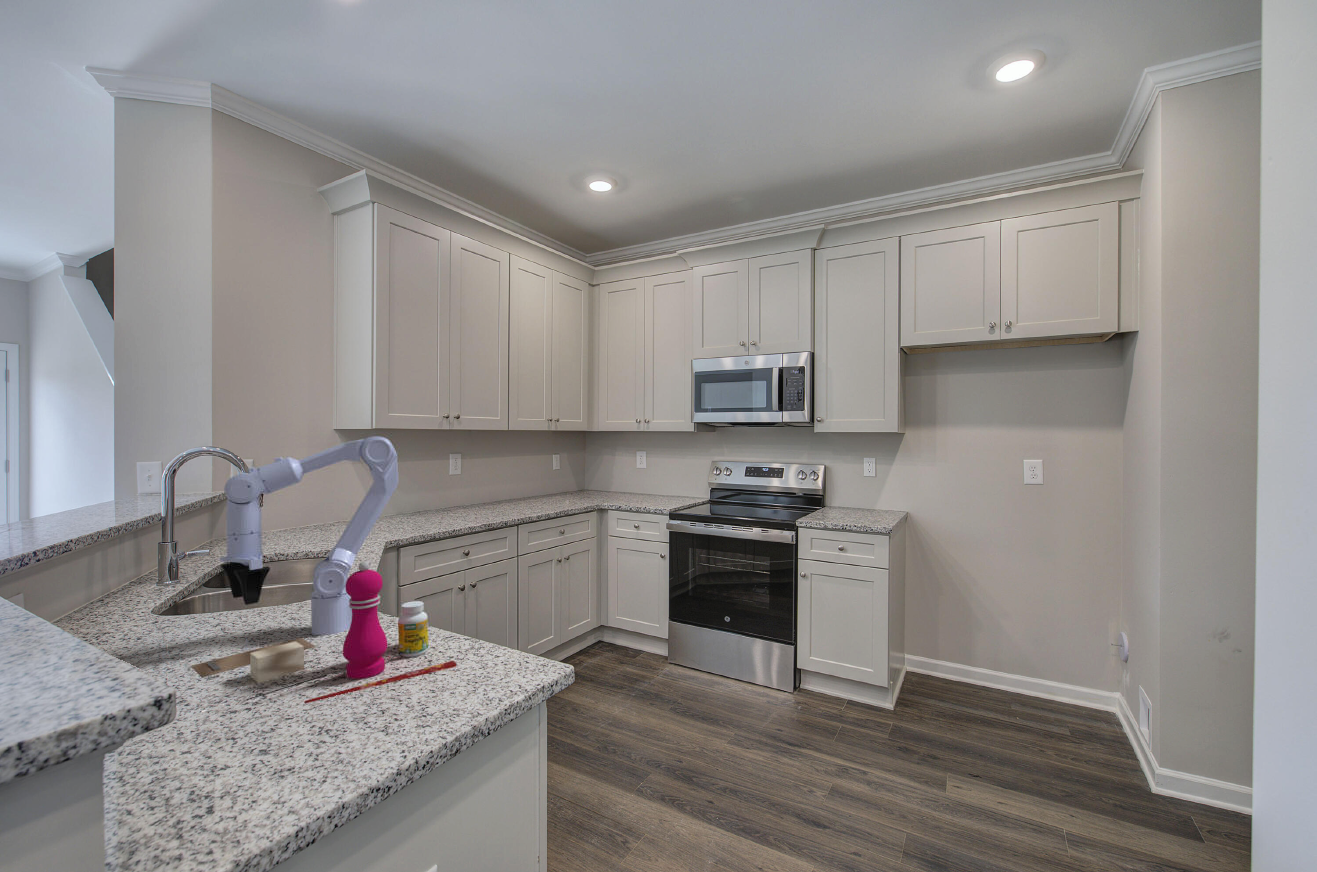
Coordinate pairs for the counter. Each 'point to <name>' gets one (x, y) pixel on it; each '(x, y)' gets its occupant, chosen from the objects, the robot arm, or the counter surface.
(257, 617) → the counter surface
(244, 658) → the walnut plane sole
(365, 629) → the pepper mill
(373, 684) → the chopstick
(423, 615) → the supplement bottle
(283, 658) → the cap
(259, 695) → the slate mat
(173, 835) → the counter surface
